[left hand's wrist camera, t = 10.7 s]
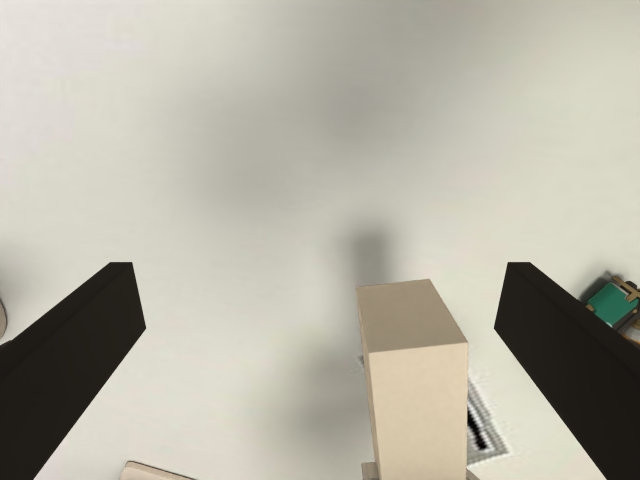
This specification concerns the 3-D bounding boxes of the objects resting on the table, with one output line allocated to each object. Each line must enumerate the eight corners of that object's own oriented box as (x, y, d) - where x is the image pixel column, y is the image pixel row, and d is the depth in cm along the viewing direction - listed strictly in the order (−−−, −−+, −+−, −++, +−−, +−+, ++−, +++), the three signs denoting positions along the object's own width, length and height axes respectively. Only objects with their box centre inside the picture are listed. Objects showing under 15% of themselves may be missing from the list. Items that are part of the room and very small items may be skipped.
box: (355, 287, 30) (368, 353, 22) (429, 278, 30) (468, 342, 22) (374, 459, 38) (389, 555, 30) (434, 453, 37) (465, 549, 29)
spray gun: (553, 398, 53) (498, 330, 49) (673, 340, 48) (621, 260, 44) (569, 422, 49) (511, 351, 45) (702, 362, 44) (648, 277, 40)
